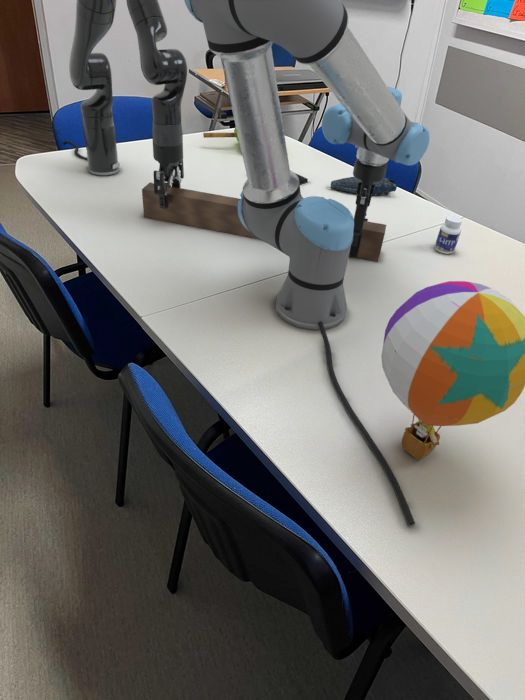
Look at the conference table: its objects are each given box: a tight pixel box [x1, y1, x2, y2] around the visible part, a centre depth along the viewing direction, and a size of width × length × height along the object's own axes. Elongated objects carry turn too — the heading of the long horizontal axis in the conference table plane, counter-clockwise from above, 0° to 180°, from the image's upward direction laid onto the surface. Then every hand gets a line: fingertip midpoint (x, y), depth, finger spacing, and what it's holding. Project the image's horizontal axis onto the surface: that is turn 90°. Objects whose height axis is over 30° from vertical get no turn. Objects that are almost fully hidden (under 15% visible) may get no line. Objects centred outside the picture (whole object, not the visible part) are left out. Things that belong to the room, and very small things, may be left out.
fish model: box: [330, 176, 398, 196], centre depth 167 cm, size 7×21×5 cm, turn 84°
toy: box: [380, 280, 525, 461], centre depth 74 cm, size 20×20×30 cm
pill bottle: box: [434, 215, 463, 255], centre depth 137 cm, size 5×5×9 cm
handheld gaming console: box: [290, 169, 309, 185], centre depth 171 cm, size 12×7×10 cm
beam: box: [141, 182, 387, 262], centre depth 137 cm, size 64×5×8 cm, turn 75°
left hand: (170, 202), depth 140 cm, fingers open, 8 cm apart
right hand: (353, 250), depth 135 cm, fingers closed on beam, 5 cm apart
